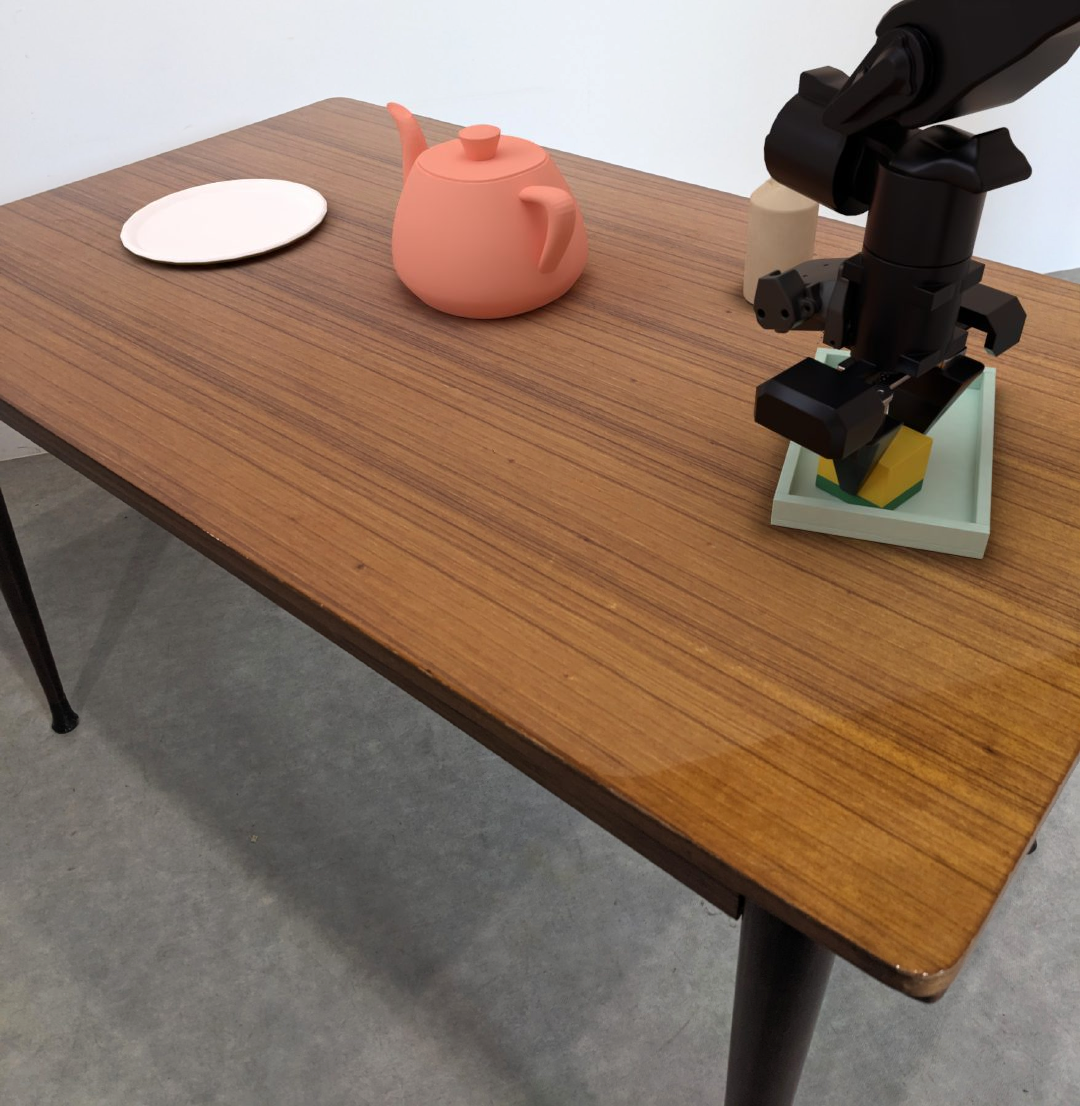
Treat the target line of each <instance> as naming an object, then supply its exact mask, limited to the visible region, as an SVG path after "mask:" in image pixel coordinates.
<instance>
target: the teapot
mask: <svg viewBox="0 0 1080 1106" xmlns="http://www.w3.org/2000/svg"><path fill="white" fill-rule="evenodd" d="M386 109H387V112H388V113H389V115H390V116H391V118H392V120H393V121H394V123H395V125H396V128H397V131H398V134H399V138H400V143H401V151H402V152H401V155H402V185H403V188H402V191H401V194H400V197H399V200H398V203H397V207H396V210H395V215H394V220H393V225H392V236H391V253H392V262H393V267H394V269H395V272H396V274H397V275H398V278H399V279H400V280H401V282H402V283H403V284H404V285H405V286H406V287H407V288H408V290H410V291H411V293H413V294H414V295H415V296H416V297H417V298H418V299H420V301H422V302H423V303H425V304H426V305H427V306H429V307H430V308H433V309H435V310H438V311H439V312H442V313H445V314H447V315H448V314H449V315H452V316H457V317H460V318H466V319H467V318H468V319H477V320H492V319H501V318H502V319H503V318H508V317H513V316H517V315H521V314H525V313H528V312H531V311H533V310H536V309H539V308H542V307H544V306H546V305H548V304H550V303H552V302H554V301H555V300H558V299H559V298H561V297H562V296H564V295H565V294H567V292H568V291H569V290H570V289H571V288H572V286H573V285H574V284H575V283H576V282H577V280H578V279H579V277H580V276H581V274H582V273H583V271H584V270H585V268H586V267H587V263H588V259H589V256H590V253H589V240H588V235H587V230H586V226H585V222H584V217H583V214H582V212H581V209H580V207H579V204H578V202H577V200H576V198H575V196H574V194H573V192H572V190H571V188H570V186H569V184H568V182H567V181H566V180H565V178H564V176H563V174H562V173H561V170H560V169H559V167H558V165H557V164H556V162H555V161H554V160H553V159H552V157H551V156H550V154H549V152H548V151H546V149H544V148H543V147H542V146H540V145H539V144H537V143H535V142H534V141H531V140H529V139H525V138H522V137H518V136H513V135H507V134H502V133H501V132H502V130H501V128H500V127H498V126H495V125H492V124H483V123H482V124H473V125H469V126H466V127H464V128H462V129H460V130H459V131H458V134H457V135H458V137H459V138H455V139H451V140H447V141H444V142H441V143H438V144H436V145H433V146H431V147H429V145H428V143H427V140H426V137H425V135H424V133H423V130H422V128H421V126H420V124H419V122H418V120H417V118H416V117H415V116H414V114H413V113H412V112H411V111H410V110H409V109H407V108H406V107H405V106H404V105H402V104H400V103H397V102H393V101H391V102H388V103H386Z"/></svg>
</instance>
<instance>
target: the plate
mask: <svg viewBox="0 0 1080 1106" xmlns="http://www.w3.org/2000/svg"><path fill="white" fill-rule="evenodd" d="M327 201H328V200H326V199H325V198H324V196H323V195H322V194H321V193H320V192H319V191H318V190H316V189H313V188H311V187H310V186H308V185H306V184H302V183H299V182H294V181H290V180H285V179H284V180H283V179H273V178H244V179H243V178H242V179H241V178H240V179H233V180H224V181H217V182H211V183H207V184H202V185H196V186H192V187H190V188H185V189H183V190H179V191H176V192H173V193H170V194H166V196H163V197H161V198H158V199H156V200H154V201H152V202H150V203H148V204H146V205H145V206H144V207H141V208H140V209H138V210H137V211H136V212H134V213H133V214H132V215H131V216H130V217H129V218H128V219H127V220H126V221H125V222H124V224H123V225H122V228H121V232H120V235H119V236H120V240H121V242H122V244H123V247H124V248H125V249H126V250H128V251H129V252H130V253H131V254H133V255H135V256H136V257H138V258H141V259H145V260H148V261H150V262H154V263H159V264H168V265H176V266H196V265H199V266H203V265H214V264H215V265H216V264H222V263H229V262H231V263H232V262H237V261H241V260H245V259H249V258H254V257H258V256H263V255H265V254H268V253H271V252H274V251H277V250H280V249H282V248H285V247H288V246H290V245H292V244H294V243H295V242H297V241H299V240H302V239H303V238H305V237H307V236H308V235H310V234H311V232H313V231H314V230H315V229H317V228H318V227H319V226H320V225H321V224H322V223H323V221H324V219H325V218H326V216H327V214H328V204H327Z"/></svg>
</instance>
